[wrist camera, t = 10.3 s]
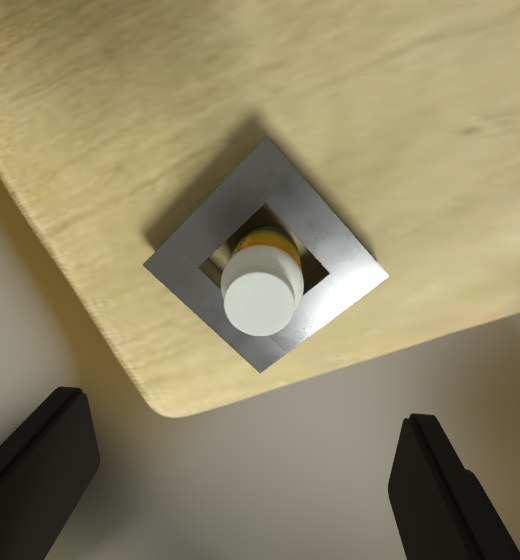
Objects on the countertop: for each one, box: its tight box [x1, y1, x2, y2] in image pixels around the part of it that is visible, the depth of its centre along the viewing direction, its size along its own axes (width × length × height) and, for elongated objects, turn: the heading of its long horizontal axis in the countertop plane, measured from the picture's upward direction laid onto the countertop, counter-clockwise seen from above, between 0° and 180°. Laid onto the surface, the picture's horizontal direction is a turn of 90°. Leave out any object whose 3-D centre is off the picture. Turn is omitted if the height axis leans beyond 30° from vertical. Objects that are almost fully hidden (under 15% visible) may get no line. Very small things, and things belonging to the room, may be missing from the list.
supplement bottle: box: [221, 227, 304, 336], centre depth 23 cm, size 5×5×10 cm
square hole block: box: [143, 136, 389, 373], centre depth 26 cm, size 13×13×3 cm
